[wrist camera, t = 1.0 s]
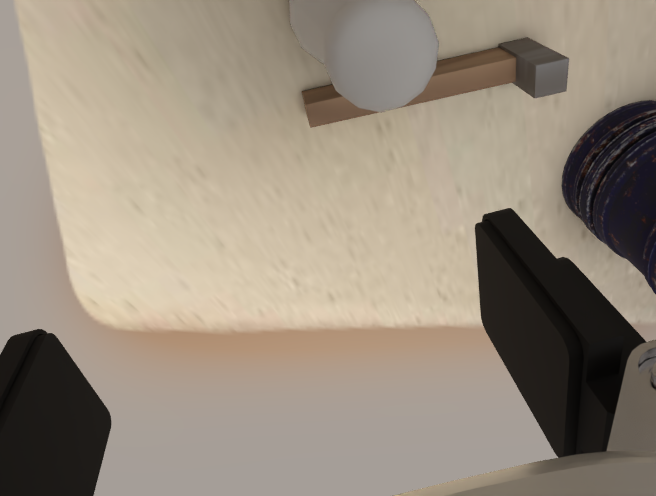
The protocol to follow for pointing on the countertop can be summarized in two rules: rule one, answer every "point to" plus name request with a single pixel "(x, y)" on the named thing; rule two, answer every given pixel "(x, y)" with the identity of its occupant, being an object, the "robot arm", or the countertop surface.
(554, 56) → the chute
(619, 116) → the dark blue cylinder
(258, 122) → the countertop surface
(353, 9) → the salt shaker
